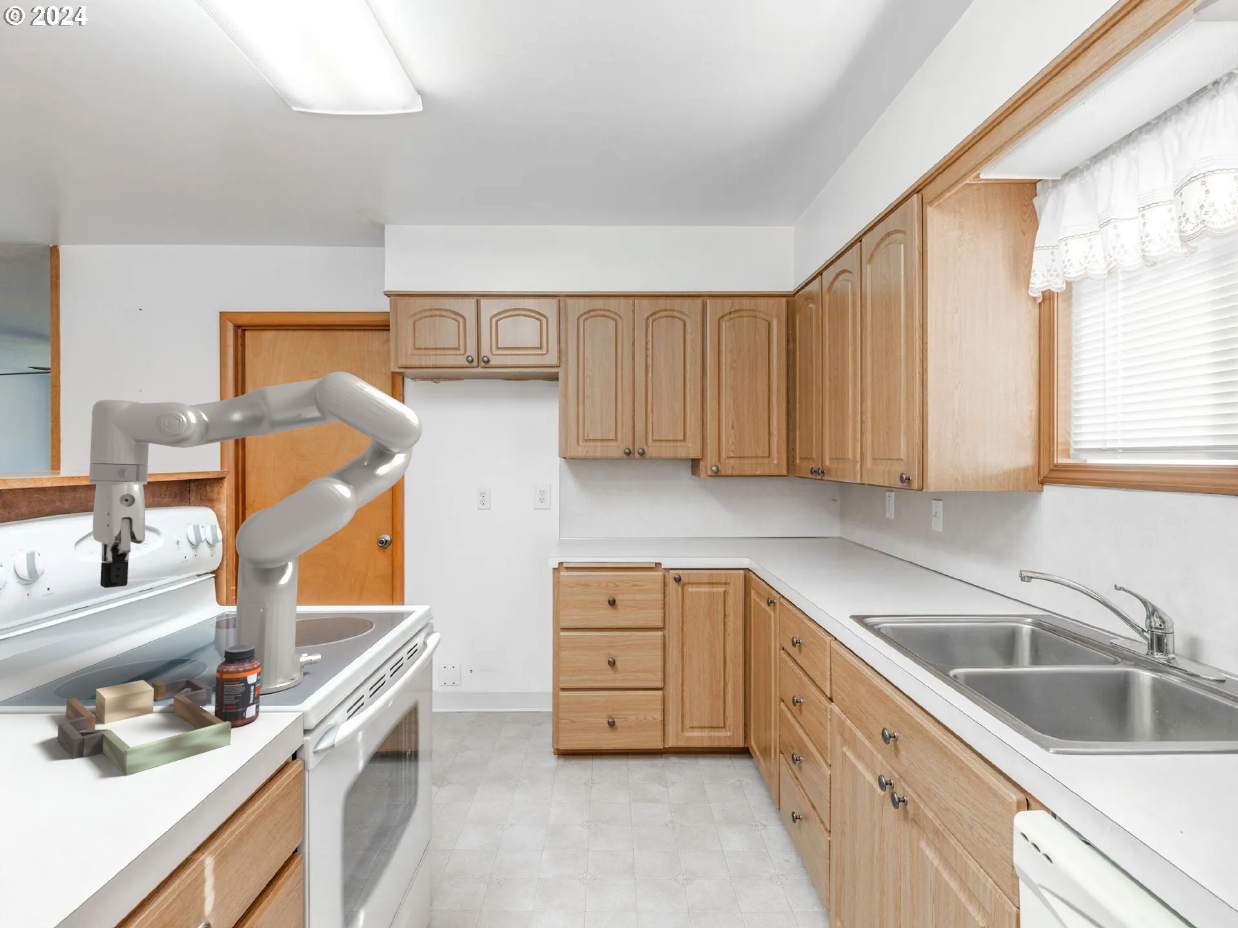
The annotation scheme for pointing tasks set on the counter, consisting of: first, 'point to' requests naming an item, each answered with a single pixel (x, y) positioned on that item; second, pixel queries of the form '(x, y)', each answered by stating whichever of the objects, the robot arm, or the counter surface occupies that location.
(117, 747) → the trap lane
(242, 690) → the supplement bottle
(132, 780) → the counter surface
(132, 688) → the block
